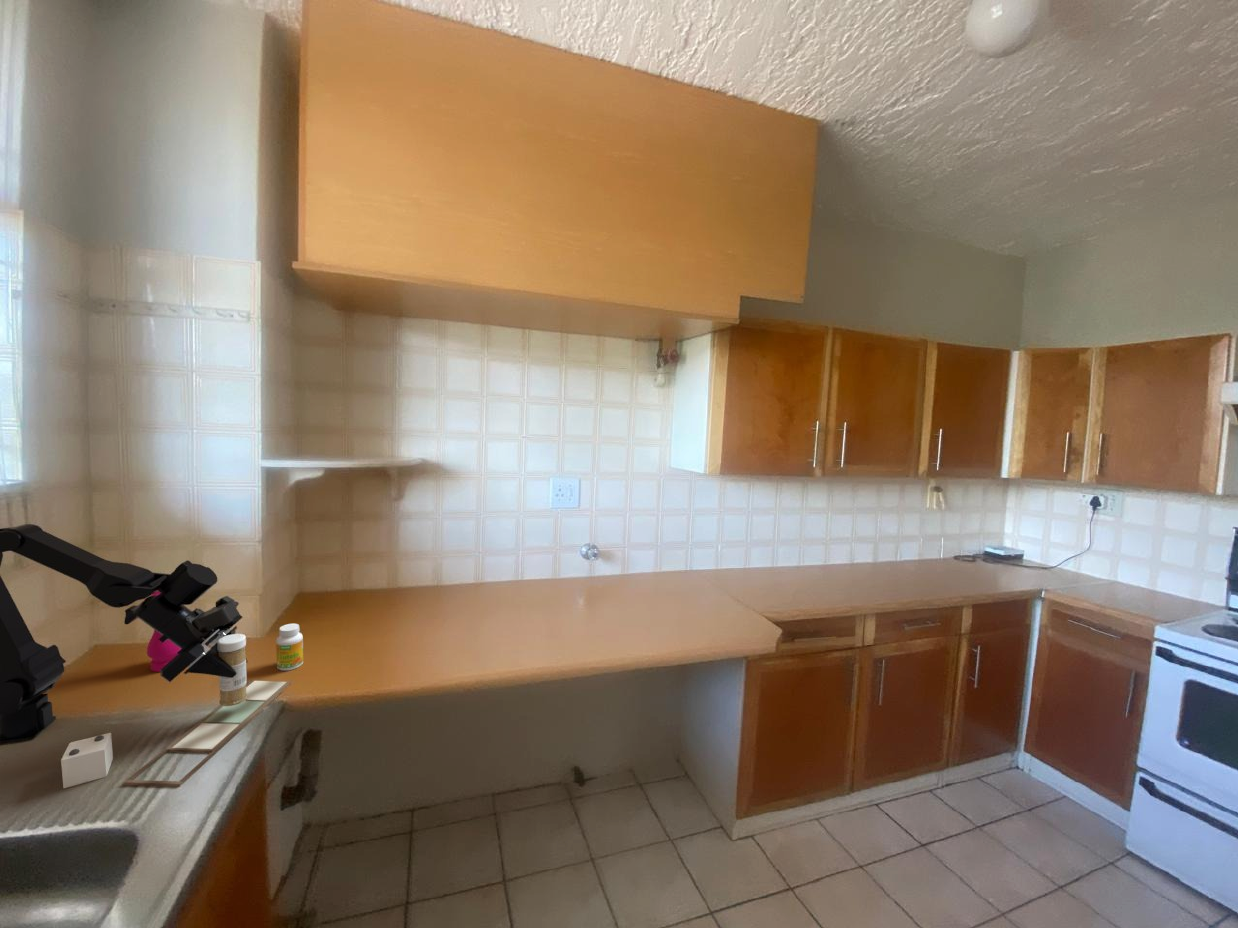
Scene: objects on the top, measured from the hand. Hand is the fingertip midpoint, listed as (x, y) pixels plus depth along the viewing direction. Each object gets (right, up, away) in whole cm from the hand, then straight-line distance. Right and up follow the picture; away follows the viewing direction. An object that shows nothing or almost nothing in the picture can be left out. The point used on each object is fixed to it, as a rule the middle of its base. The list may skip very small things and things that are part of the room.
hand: (240, 669), depth 102 cm
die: (-13, -11, -16) cm, 24 cm away
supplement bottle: (-3, -7, +20) cm, 21 cm away
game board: (-2, -10, -3) cm, 10 cm away
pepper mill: (-30, -6, +17) cm, 35 cm away
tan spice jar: (-2, -7, 0) cm, 7 cm away
